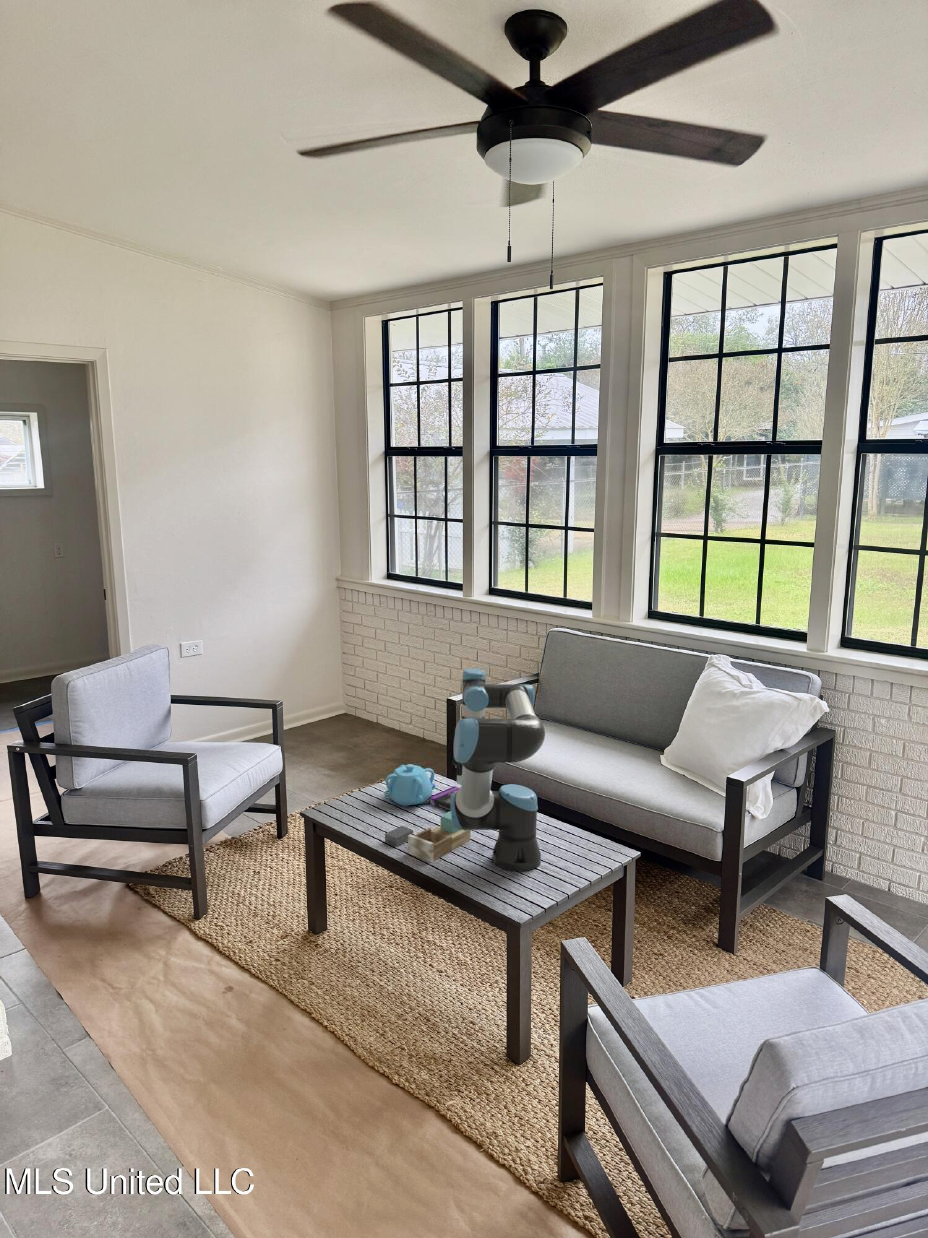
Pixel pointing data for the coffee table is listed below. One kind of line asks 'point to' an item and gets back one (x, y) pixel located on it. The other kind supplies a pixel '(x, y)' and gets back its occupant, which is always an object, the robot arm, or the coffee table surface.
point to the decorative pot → (409, 785)
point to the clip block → (447, 823)
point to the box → (443, 799)
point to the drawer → (435, 843)
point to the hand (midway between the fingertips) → (471, 778)
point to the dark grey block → (398, 836)
